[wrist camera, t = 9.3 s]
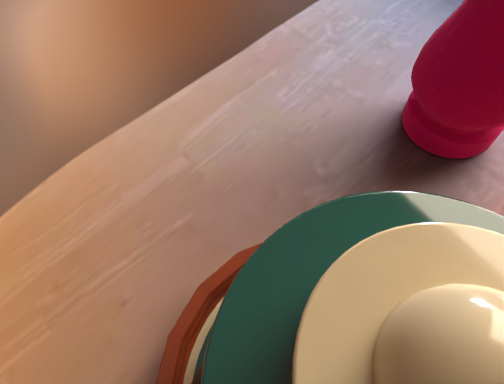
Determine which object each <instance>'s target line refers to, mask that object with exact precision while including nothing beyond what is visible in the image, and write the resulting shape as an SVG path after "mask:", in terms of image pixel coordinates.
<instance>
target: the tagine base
mask: <svg viewBox="0 0 504 384" xmlns="http://www.w3.org/2000/svg"><path fill="white" fill-rule="evenodd" d="M261 244H262V243H261ZM261 244H258V245H256V246H253V247H251V248H248V249H246V250H243V251H240V252H238V253H237V254H236V255H235V256H233V257H232V258H231V259H230V260H229V261H228V262H226V263H225V264H224V265H223V266H222V267H220V268H219V269H218V270H217V271H216V272H215V273H213V274H212V275H211V276H210V277H209V278H207V279H206V280H205V281H204V282H203V283H201V284H200V285H199V287H198V288H197V290H196V291H195V293H194V295H193V296H192V298H191V299H190V301H189V303H188V304H187V306H186V308H185V309H184V311H183V312H182V314H181V316H180V317H179V319H178V321H177V322H176V324H175V325H174V327H173V329H172V330H171V332H170V334H169V336H168V338H167V342H166V346H165V350H164V354H163V358H162V362H161V366H160V370H159V373H158V377H157V381H156V384H183V381H184V375H185V371H186V368H187V364H188V361H189V357H190V354H191V351H192V349H193V346H194V344H195V342H196V339H197V337H198V334H199V333H200V331H201V329H202V327H203V325H204V324H205V322H206V320H207V318H208V317H209V315H210V314H211V312H212V311H213V310H214V308H215V307H216V306H217V304H218V303H219V301H220V300H221V299H222V298H223V297H224V296H225V294H226V293H227V291H228V289H229V287H230V285H231V284H232V282H233V280H234V278H235V276H236V275H237V274H238V272H239V271H240V269H241V268H242V267H243V265H244V264H245V263H246V261H247V260H248V258H249V257H250V256H251V255H252V254H253V253H254V252H255V251H256V250H257V248H258V247H259V246H260V245H261Z"/></svg>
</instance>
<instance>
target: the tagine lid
mask: <svg viewBox="0 0 504 384" xmlns="http://www.w3.org/2000/svg"><path fill="white" fill-rule="evenodd" d="M202 363H204V364H203V371H202V378H201V384H504V216H502V215H499V214H497V213H495V212H493V211H491V210H488V209H485V208H482V207H479V206H477V205H474V204H471V203H468V202H465V201H461V200H457V199H453V198H449V197H445V196H441V195H435V194H428V193H421V192H414V191H379V192H367V193H361V194H356V195H351V196H345V197H342V198H339V199H336V200H333V201H330V202H326V203H323V204H321V205H319V206H317V207H315V208H313V209H310V210H308V211H306V212H304V213H302V214H300V215H299V216H297V217H296V218H294V219H292V220H291V221H289V222H288V223H286V224H284V225H283V226H282V227H281V228H279V229H278V230H277V231H276V232H274V233H273V234H272V235H271V236H270V237H268V238H267V239H266V240H265V241H264V242H263V243H262V244H261V245H260V246H259V247H258V248H257V250H256V251H255V252H254V253H253V254H252V255H251V256H250V257H249V258H248V260H247V261H246V263H245V264H244V265H243V267H242V268H241V269H240V271H239V272H238V274H237V275H236V276H235V278H234V280H233V282H232V284H231V285H230V287H229V289H228V291H227V293H226V294H225V296H224V297H223V298H222V299H221V300H220V301H219V303H218V304H217V306H216V307H215V308H214V310H213V311H212V312H211V314H210V315H209V317H208V318H207V320H206V322H205V324H204V325H203V327H202V329H201V331H200V333H199V334H198V337H197V339H196V342H195V344H194V346H193V349H192V351H191V354H190V357H189V361H188V364H187V368H186V371H185V375H184V381H183V384H191V382H192V380H193V378H194V377H195V375H196V373H197V371H198V369H199V367H200V366H201V364H202Z"/></svg>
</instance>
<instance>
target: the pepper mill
mask: <svg viewBox="0 0 504 384" xmlns="http://www.w3.org/2000/svg"><path fill="white" fill-rule="evenodd" d="M411 80H412V86H413V91H412V92H411V94H410V96H409V99H408V101H407V103H406V106H405V108H404V111H403V114H402V122H403V127H404V129H405V131H406V133H407V135H408V136H409V138H410V139H411V140H412V141H413V142H414V143H415V144H416V145H418V146H419V147H420V148H422V149H424V150H426V151H427V152H429V153H432V154H435V155H438V156H441V157H447V158H455V159H458V158H468V157H472V156H475V155H478V154H480V153H482V152H483V151H485V150H486V149H488V148H489V146H490V145H491V144H492V143H493V142H494V140H495V139H496V138H497V137H498V135H499V134H500V133H501V132H502V130H503V129H504V0H465V1H464V2H463V3H462V4H461V6H460V7H459V8H458V9H457V10H456V11H455V12H454V13H453V14H452V15H451V16H450V17H449V18H448V19H447V20H446V21H445V22H444V23H443V24H442V25H441V26H440V27H439V28H438V29H437V30H436V31H435V32H434V33H433V34H432V36H431V37H430V38H429V40H428V41H427V42H426V44H425V45H424V46H423V48H422V50H421V52H420V54H419V56H418V58H417V60H416V62H415V64H414V66H413V70H412V75H411Z"/></svg>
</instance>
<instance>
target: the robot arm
mask: <svg viewBox="0 0 504 384" xmlns="http://www.w3.org/2000/svg"><path fill="white" fill-rule="evenodd" d="M203 364H204V363H202V364H201V366H200V367H199V369H198V371H197V373H196V375H195V377H194V378H193V380H192V382H191V384H201V378H202V371H203Z"/></svg>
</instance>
